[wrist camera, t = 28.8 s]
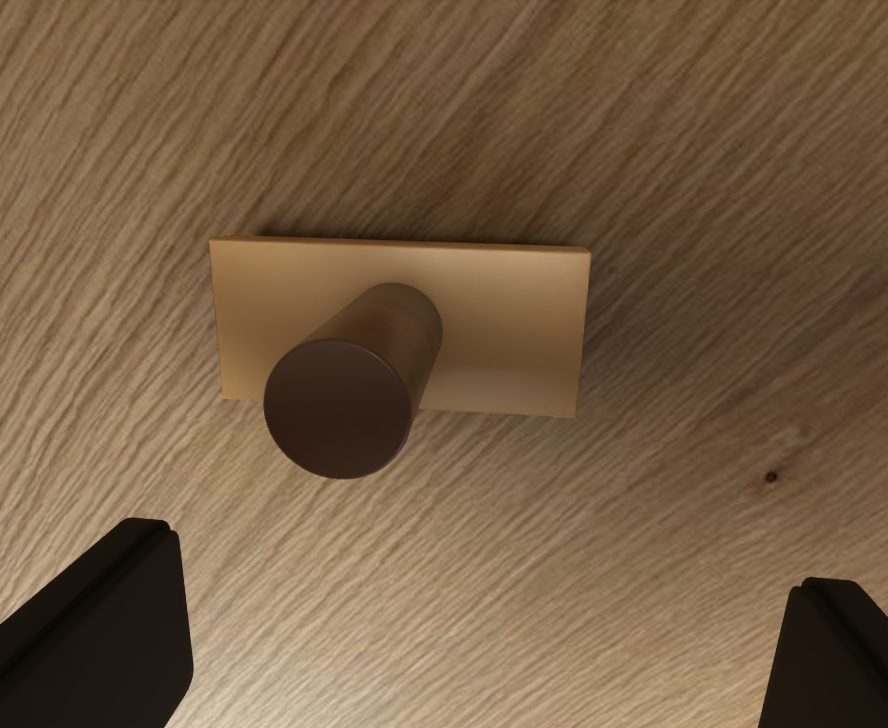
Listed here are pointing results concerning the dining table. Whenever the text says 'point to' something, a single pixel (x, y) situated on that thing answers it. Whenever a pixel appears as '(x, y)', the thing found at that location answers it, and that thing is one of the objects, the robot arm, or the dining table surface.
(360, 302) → the peg on base plate
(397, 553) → the dining table surface
